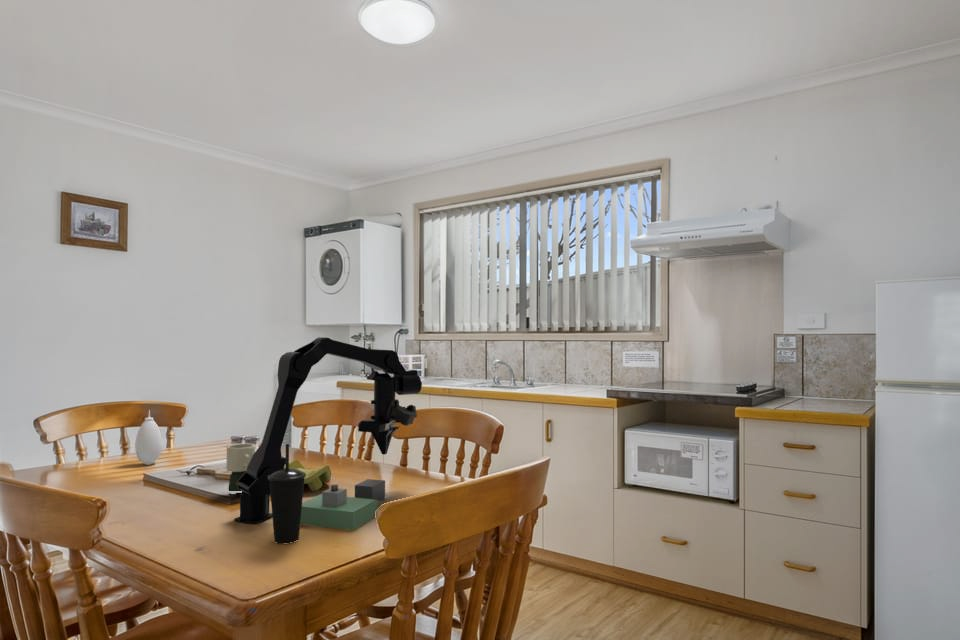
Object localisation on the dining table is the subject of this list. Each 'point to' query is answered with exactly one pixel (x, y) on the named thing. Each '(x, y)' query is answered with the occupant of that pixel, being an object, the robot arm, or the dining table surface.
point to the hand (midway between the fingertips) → (384, 454)
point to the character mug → (238, 462)
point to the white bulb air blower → (148, 442)
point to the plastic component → (313, 474)
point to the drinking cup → (286, 501)
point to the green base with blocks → (337, 510)
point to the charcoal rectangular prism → (371, 489)
